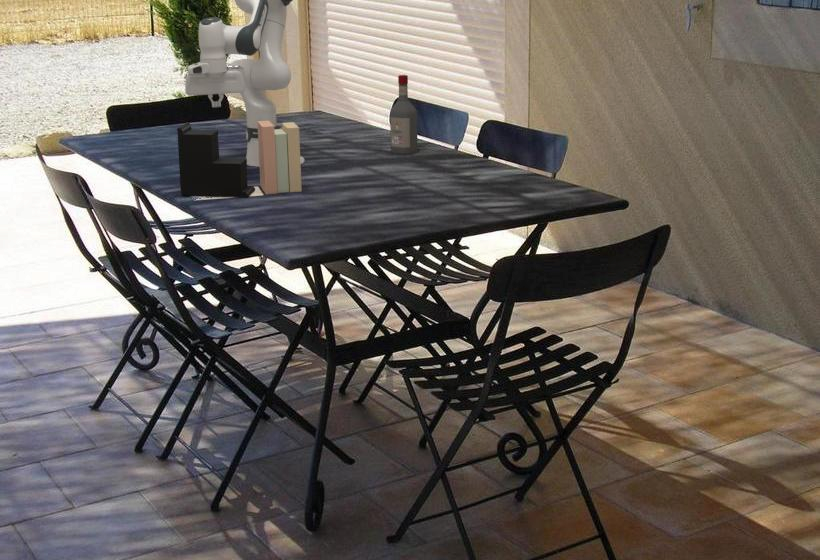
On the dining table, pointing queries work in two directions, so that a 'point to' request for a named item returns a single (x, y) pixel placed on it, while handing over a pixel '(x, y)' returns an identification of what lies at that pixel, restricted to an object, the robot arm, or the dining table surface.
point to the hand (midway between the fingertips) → (216, 107)
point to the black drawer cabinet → (209, 166)
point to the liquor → (403, 122)
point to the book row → (279, 157)
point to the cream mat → (255, 193)
